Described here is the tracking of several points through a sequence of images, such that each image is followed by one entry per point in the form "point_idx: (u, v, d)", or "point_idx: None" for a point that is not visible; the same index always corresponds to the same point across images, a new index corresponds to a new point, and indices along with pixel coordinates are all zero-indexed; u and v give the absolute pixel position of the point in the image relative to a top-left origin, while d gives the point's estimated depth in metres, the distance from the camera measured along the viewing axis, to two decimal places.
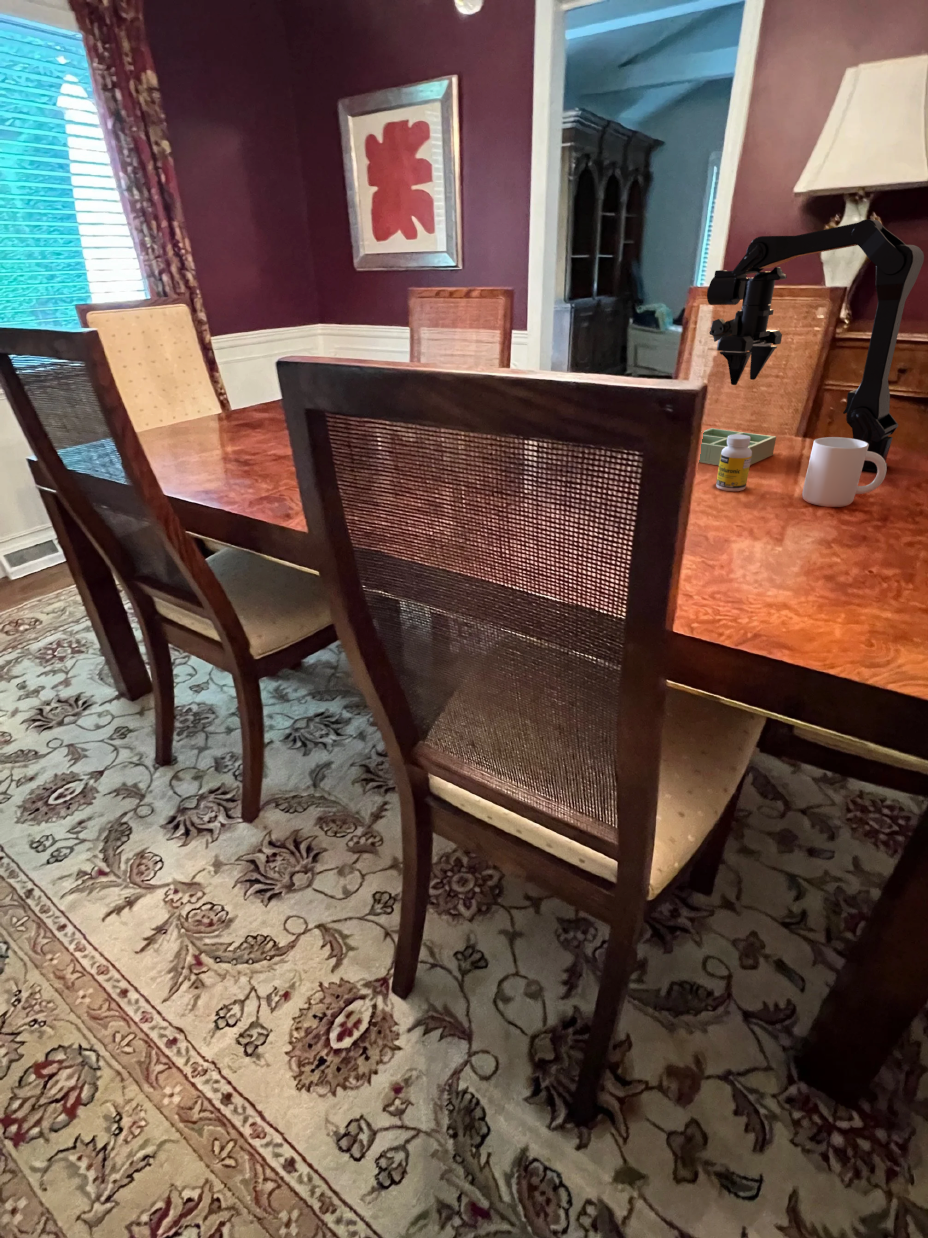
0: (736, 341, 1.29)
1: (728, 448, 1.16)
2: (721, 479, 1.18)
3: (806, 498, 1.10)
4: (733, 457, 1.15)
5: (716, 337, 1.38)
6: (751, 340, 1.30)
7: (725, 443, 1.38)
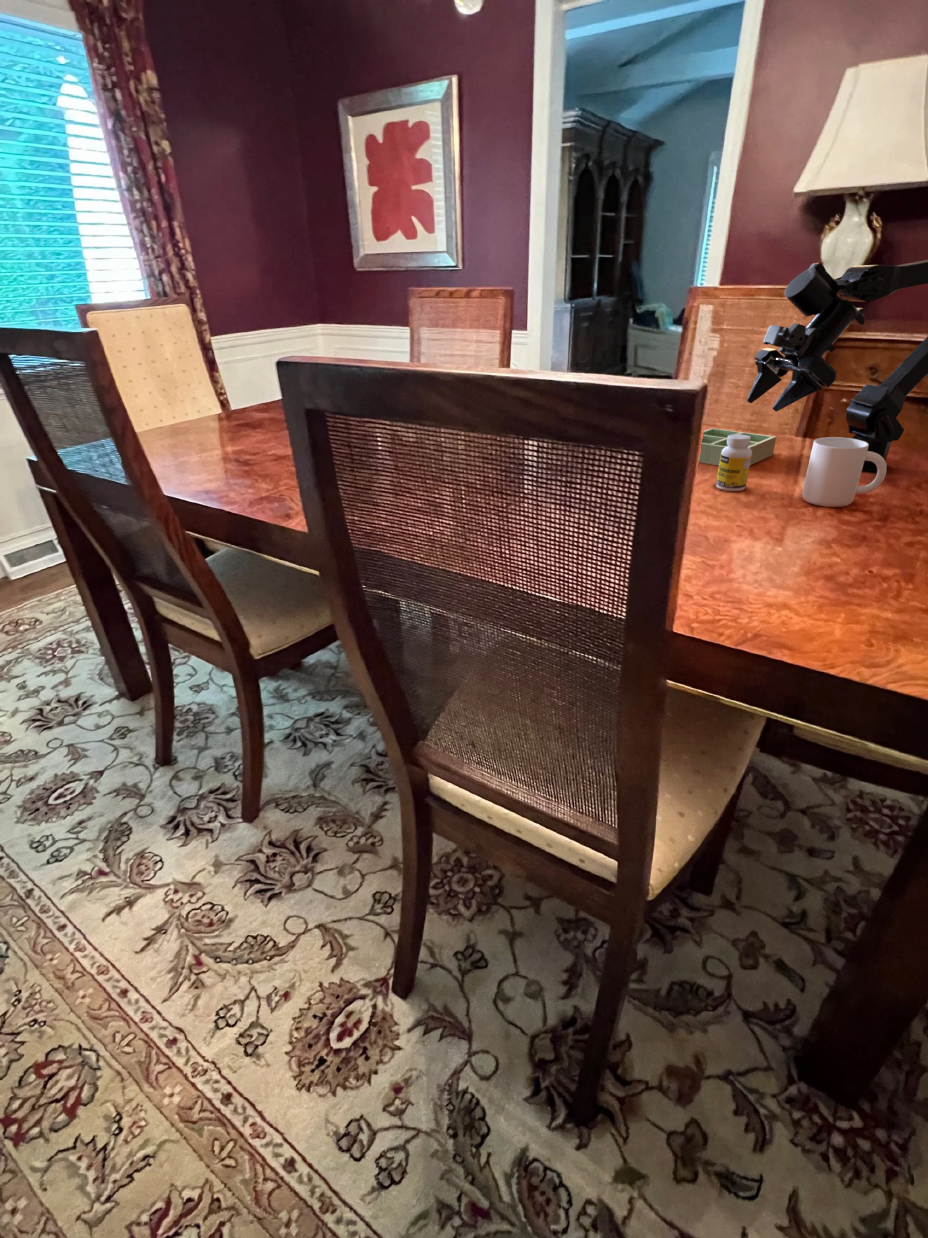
0: (832, 373, 1.09)
1: (728, 448, 1.16)
2: (721, 479, 1.18)
3: (806, 498, 1.10)
4: (733, 457, 1.15)
5: (781, 342, 1.12)
6: None
7: (725, 443, 1.38)
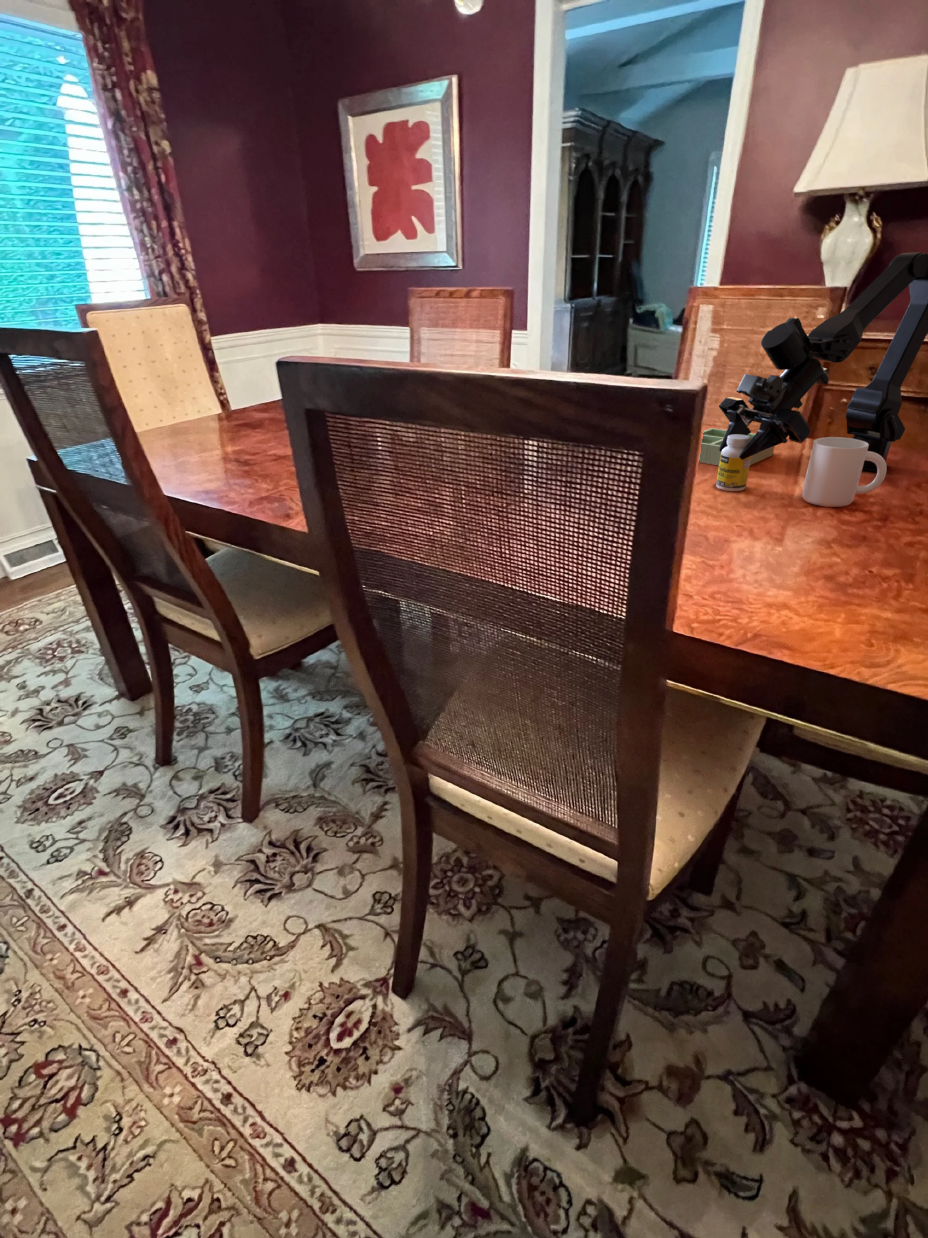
0: (807, 429, 1.08)
1: (728, 448, 1.16)
2: (721, 479, 1.18)
3: (806, 498, 1.10)
4: (733, 457, 1.15)
5: (758, 392, 1.09)
6: None
7: None
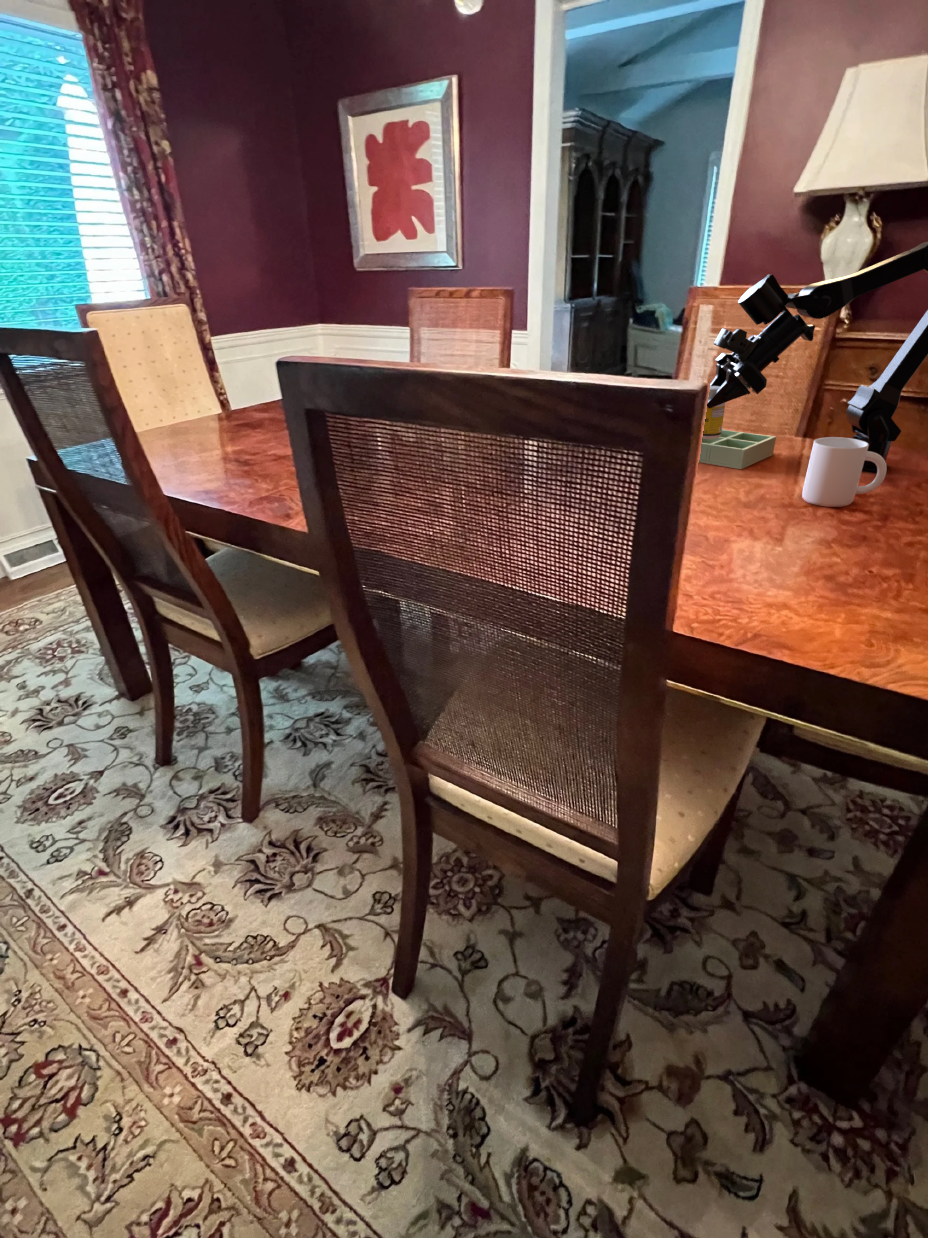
0: (760, 380, 1.14)
1: None
2: None
3: (806, 498, 1.10)
4: None
5: (724, 344, 1.18)
6: None
7: (725, 443, 1.38)
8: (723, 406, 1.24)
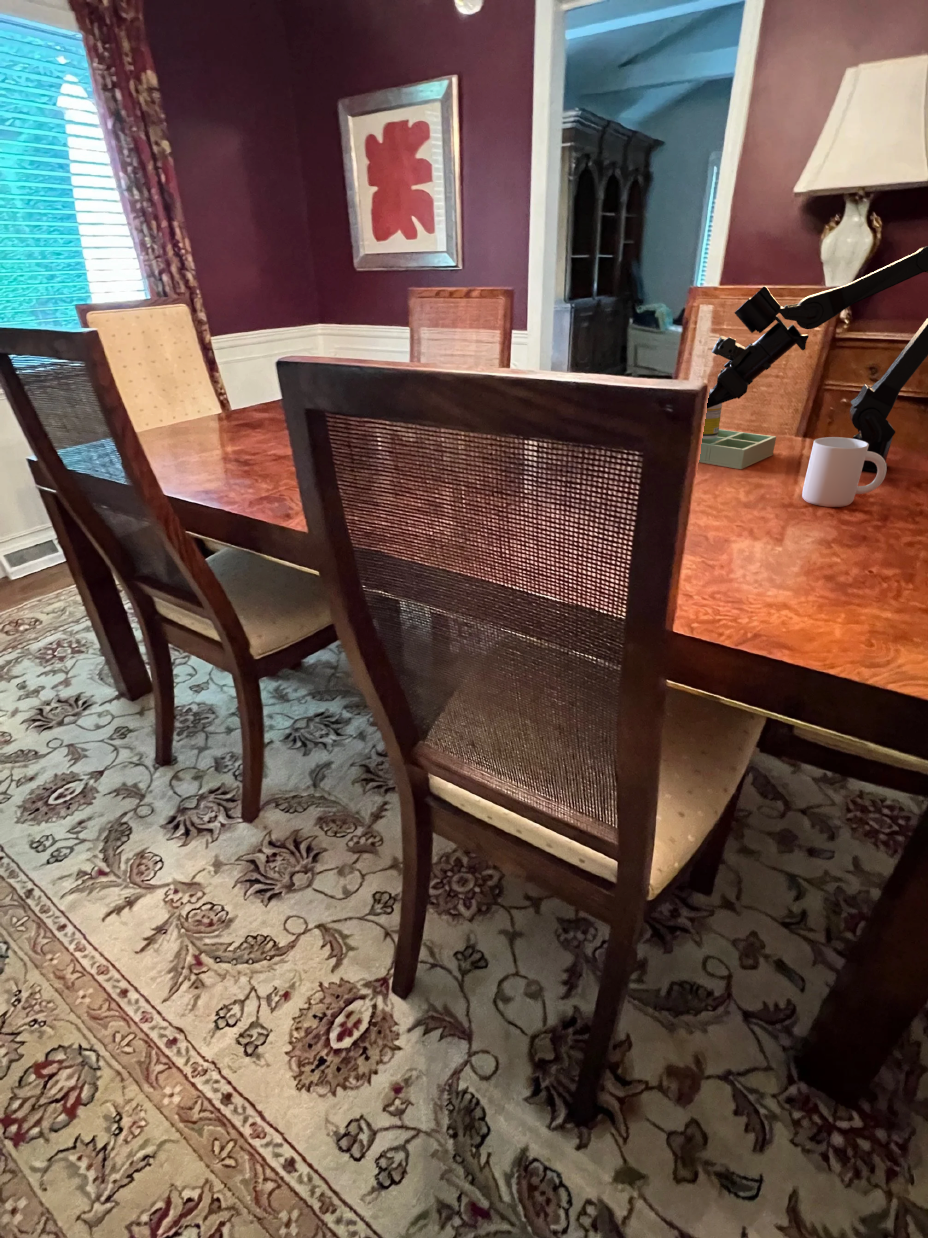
0: (740, 386, 1.22)
1: None
2: None
3: (806, 498, 1.10)
4: None
5: (717, 351, 1.27)
6: None
7: (725, 443, 1.38)
8: (717, 408, 1.33)
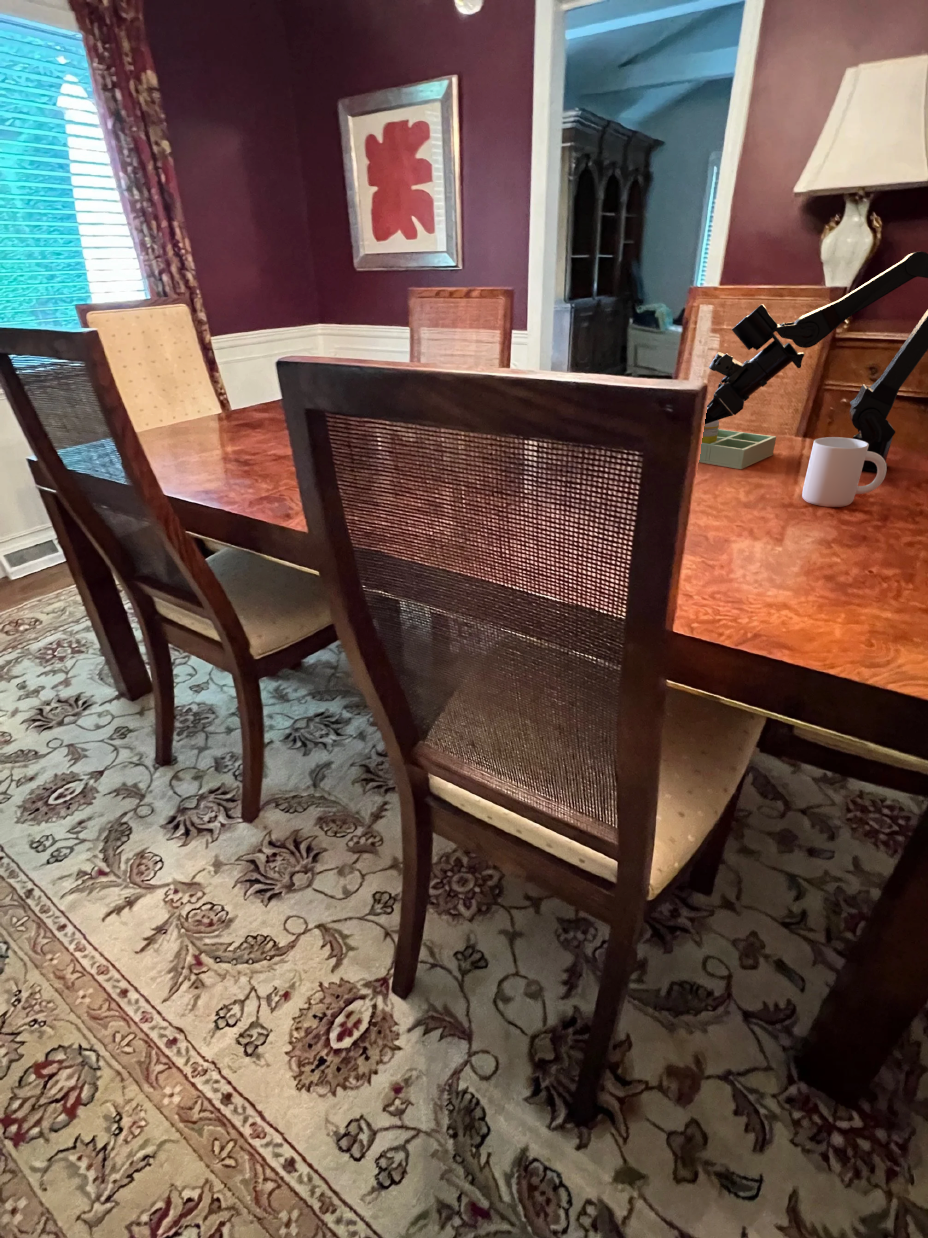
0: (737, 402, 1.24)
1: None
2: None
3: (806, 498, 1.10)
4: None
5: (714, 367, 1.29)
6: None
7: (725, 443, 1.38)
8: (714, 427, 1.35)
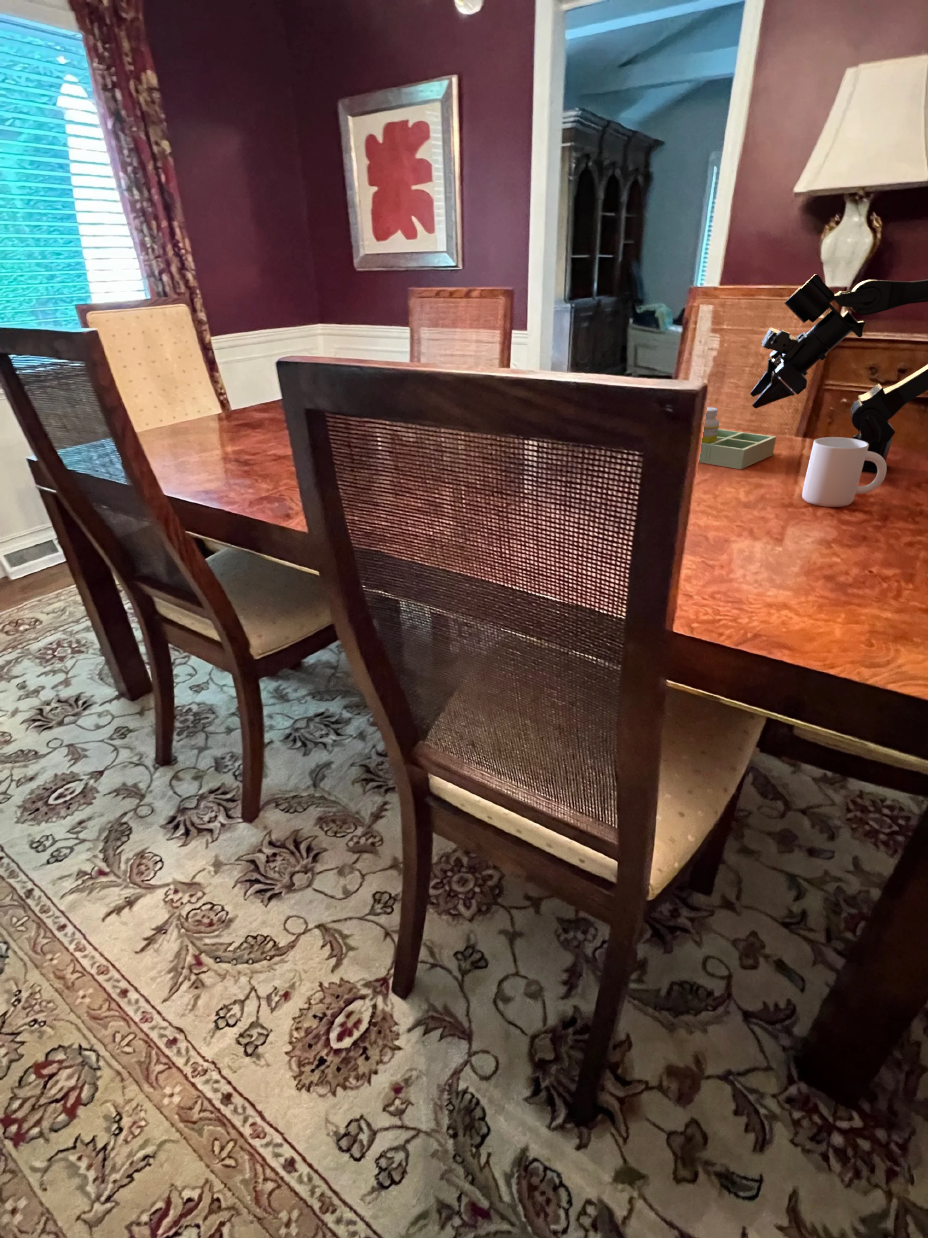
0: (800, 381, 1.18)
1: None
2: None
3: (806, 498, 1.10)
4: None
5: (768, 345, 1.23)
6: None
7: (725, 443, 1.38)
8: (714, 427, 1.35)
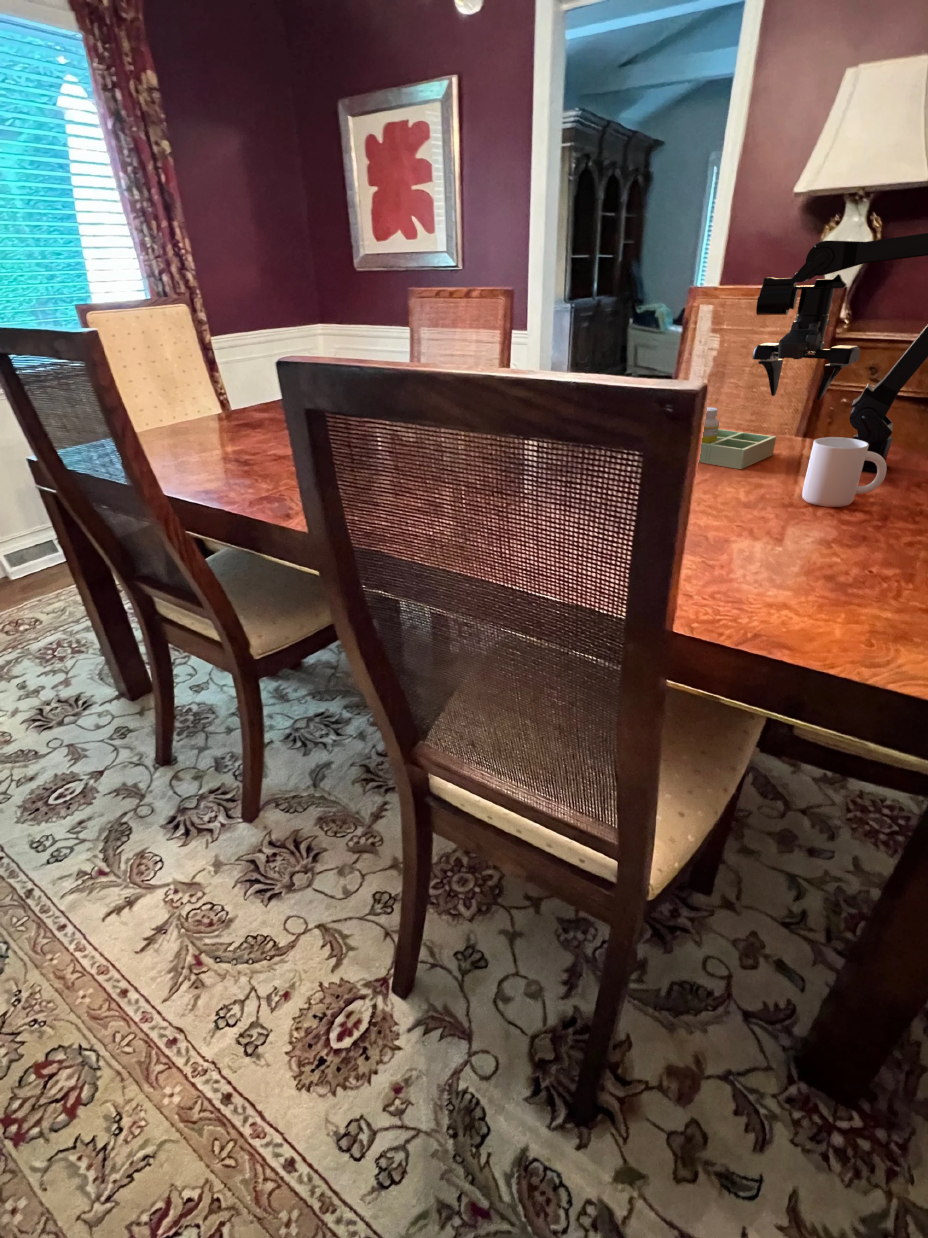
0: (858, 351, 1.20)
1: None
2: None
3: (806, 498, 1.10)
4: None
5: (804, 353, 1.19)
6: None
7: (725, 443, 1.38)
8: (714, 427, 1.35)
